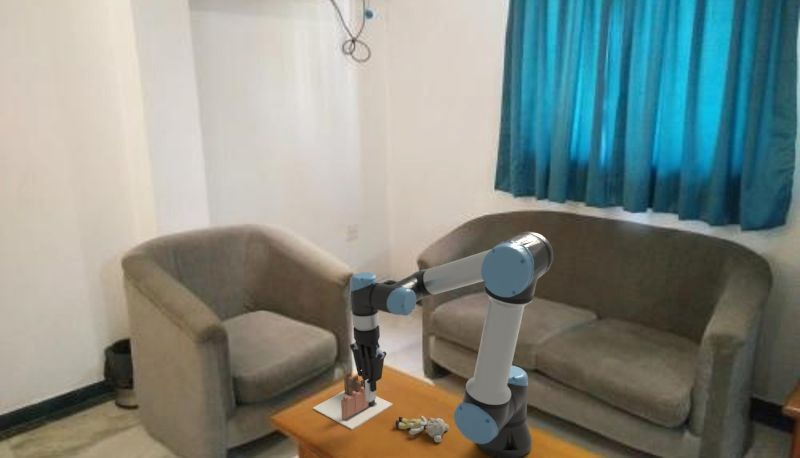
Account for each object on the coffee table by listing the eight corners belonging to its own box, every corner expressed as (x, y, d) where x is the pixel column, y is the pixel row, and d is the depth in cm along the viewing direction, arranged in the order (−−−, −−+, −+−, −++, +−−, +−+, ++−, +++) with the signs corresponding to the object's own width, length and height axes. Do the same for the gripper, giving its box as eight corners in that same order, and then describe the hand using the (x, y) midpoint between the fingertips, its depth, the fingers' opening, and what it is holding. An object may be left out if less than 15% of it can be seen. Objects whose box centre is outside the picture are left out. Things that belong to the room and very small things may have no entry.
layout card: (392, 404, 188) (392, 403, 188) (352, 429, 175) (352, 428, 175) (353, 386, 200) (353, 385, 200) (312, 408, 187) (312, 407, 187)
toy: (402, 406, 180) (448, 411, 174) (405, 422, 182) (450, 428, 175) (390, 421, 173) (438, 427, 166) (392, 438, 174) (440, 445, 167)
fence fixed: (376, 405, 188) (375, 383, 186) (371, 407, 187) (371, 385, 185) (348, 391, 197) (347, 370, 195) (343, 394, 195) (342, 372, 193)
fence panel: (365, 405, 187) (364, 385, 185) (368, 406, 186) (367, 386, 184) (341, 418, 180) (340, 397, 179) (344, 419, 179) (343, 399, 178)
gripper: (391, 326, 168) (395, 401, 174) (359, 316, 177) (364, 388, 182) (373, 335, 163) (378, 412, 168) (341, 324, 172) (346, 398, 177)
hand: (371, 399), depth 175 cm, fingers closed
